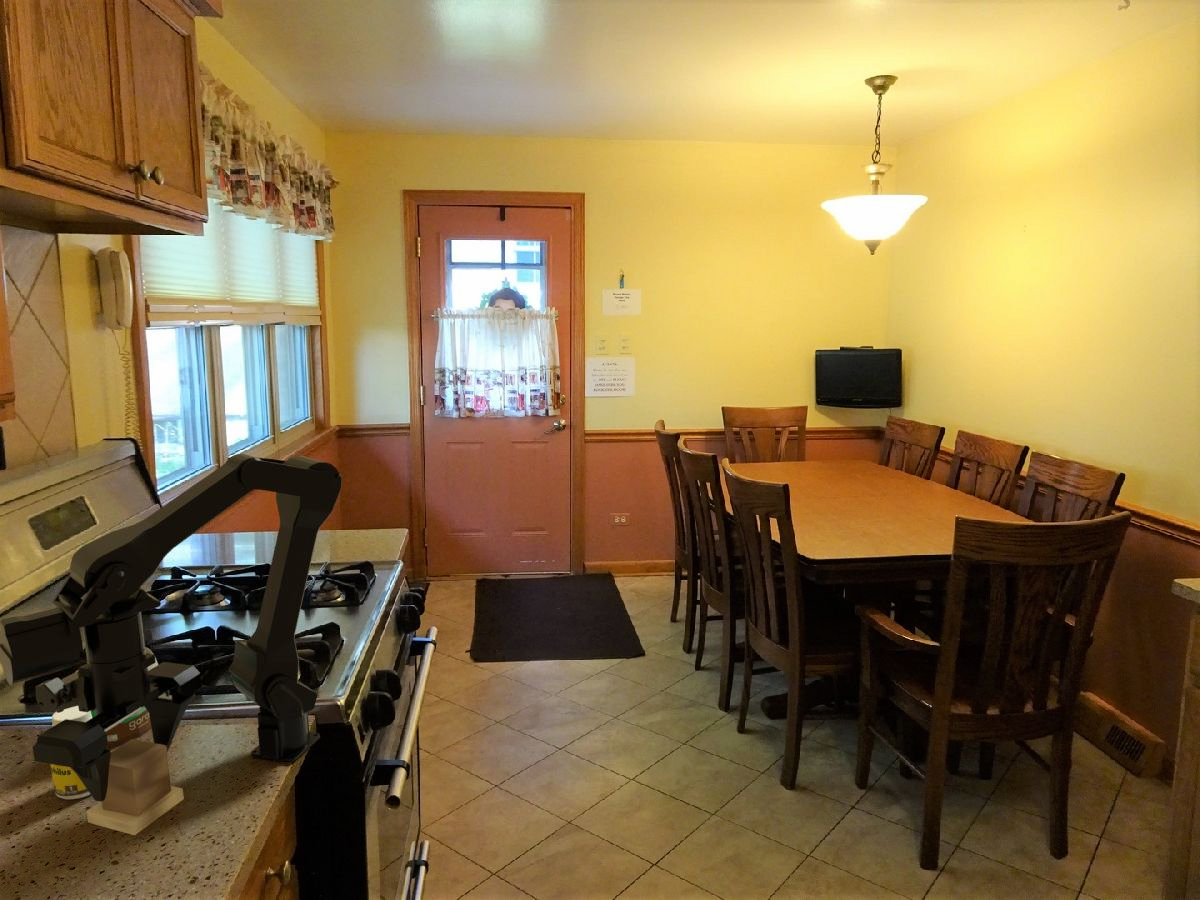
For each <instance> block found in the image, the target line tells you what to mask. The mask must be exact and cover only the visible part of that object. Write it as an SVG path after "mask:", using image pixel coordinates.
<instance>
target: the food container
mask: <svg viewBox="0 0 1200 900" xmlns="http://www.w3.org/2000/svg"><path fill="white" fill-rule="evenodd" d="M145 650H146V653H147V654H154V653H153V652H152V650H151V649H150V648H148V647H146V646H145ZM155 661H156V663H154V664H152V665H150V666H149V667H148V671H149V670H151V669H152V668H154V667H156V666H157V665H159V663H158V661H157V658H156V657H155ZM91 715H92V718H93V717H95V716H96V714H95V711H91ZM150 730H152V728H151V722H150V716H149V712H148V711H147V709H146V708H145V707H144V706H143V707H142V709H141V710H139V711H137V712H136V713H134V714H133V715H131V716H130V717H128V718H127V719H125V720H123V721H122V722H120V723H119V724H117V725H116V726H114V727H112V728H111V729H109V730H108V731H106V733H107V739H108V743H107V745H106V747H105V748H108V747H114V746H115V747H116V746H120V745H123V744H125V743H127V742H128V741H130V740H131V739H135V740H137V739H138V738H141V737H142V736H144V735H145V734H147V733H148V732H149V731H150Z"/></svg>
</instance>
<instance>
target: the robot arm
mask: <svg viewBox="0 0 1200 900" xmlns="http://www.w3.org/2000/svg"><path fill="white" fill-rule="evenodd" d="M342 487H343V477H342V475H341V474H340V472H339V470H338V469H337V467H336V466H334V465H333V464H332V463H329V462H326V461H323V460H319V459H317V458H316V459H315V458H312V457H308V456H305V455H295V456H293V457H290V458H289V459H287V460H283V459H282V460H281V459H275V458H269V457H257V456H253V455H249V454H245V453H236V454H235V455H231V457H229V458H228V459H227V460H226V461H225V463H223V464H222V465H220V466H219V467H218V468H217V469H215V470H214V471H213V472H211V473H209V474H208V475H206V476H205V477H203V478H202V479H200V480H199V481H198V482H196V483H194V485H192V486H191V487H189V488H188V489H186V490H184V491H183V492H182V493H180V494H179V495H178V496H176V497H175V498H173V499H172V500H170V501H169V502H167V503H166V504H164V505H163V506H161V507H159V508H158V509H157V510H156V511H154V512H153V513H151V514H150V515H149V516H147V517H145V518H144V519H142V520H140V521H139V522H136V523H135V524H134V523H133V524H132V525H129V526H126V527H122V528H119V529H116V530H112V531H111V532H109V533H106V534H105V535H102V536H100V537H98V538H97V539H94V540H92V541H89V542H88V543H85V544H84V545H82V546H81V547H80V548H79V549H78V550H77V551H76V552H75V553H74V554H73V555H72V556H71V561H70V565H69V575H68V576H67V578H65V581H64V582H63V584H62V586H60V588H59V590H58V592H57V593H56V595H55V596H54V598H53V599H52V601H51V603H52V604H51V605H52V606H53V607H55V608H52V609H48V610H42V611H39V612H34V613H31V614H30V613H29V614H25V615H15V616H10V617H6V618H2V619H1V620H0V664H1V668H2V671H3V674H4V677H5V679H6V681H7V684H9V685H10V686H12V685H15V684H19V683H24V682H26V681H30V680H34V679H36V678H40V677H43V676H47V675H50V674H53V673H56V672H60V671H64V670H68V669H70V668H73V667H74V665H75V664H77V663H79V662H80V660H81V659H80V657H81V656H82V655H83V653H84V647H85V653H86V654H85V655H86V661H87V663H85V664H83V665H81V666H79V667H78V670H77V671H76V672H74V673H72V674H69V675H68V676H66V677H64V678H62V679H60V678H59V677H55V678H52V679H48V680H45V681H44V682H42V683H39V684H38V685H36V686H35V700H36V703H37V706H38V707H39V710H40V711H41V712H43V713H48V712H51V711H52V712H53V711H55V712H57V713H60V712H63V711H64V709H68V708H71V707H75V706H78V708H79V711H81V712H89V711H95V714H96V716H95V717H93V718H91V719H90V720H88V721H87V722H81V721H74V720H68V719H65V720H64V721H62V722H60V723H58V724H57V725H55V726H52V727H50V728H49V729H47V730H45V731H43V732H42V733H40V734H38V735H37V736H36V737H35V738H34V739H33V741H32V752H33V759H34V762H38V763H44V764H48V765H50V764H54V765H60V766H66V767H70V768H71V769H72V770H73V771H74V772H75V773H76V774H77V776H78V777H79V778H80V780H81V781H82V783H83V784H84V786H85V787H86V788H87V790H88V791H89V793H90V796H91V797H92V799H93V801H96V802H99V803H100V802H102V801H104V800H105V798H106V793H107V788H108V776H109V765H110V754H111V752H112V751H111V750H110V749H106V748H107V747H106V745H107V743H108V739H107V733H106V731H108V730H109V729H111V728H112V727H114V726H116V725H117V724H119V723H120V722H122V721H123V720H125V719H127V718H128V717H130V716H131V715H133V714H134V713H136V712H137V711H139V710H141V709H142V707H143V706H144V707H145V708H146V709H147V711H148V712H149V716H150V722H151V734H152V739H153V743H156V744H161V745H166V747H167V753H168V752H169V750H170V747H171V745H172V742H173V740H174V737H175V735H176V733H177V731H178V728H179V726H180V723H181V721H182V719H183V717H184V715H185V713H186V710H187V708H188V707H189V705H190V702H191V701H192V700H193V699H195V696H196V695H195V692H196V691H197V690H199V689H201V688H202V678H201V677H202V676H201V672H200V671H199V670H198V669H197V668H196V667H195V666H194V665H192V664H184V663H176V662H175V663H174V662H168V661H166V662H165V661H162V662H161V663H158V665H157V666H156V667H154V668H152V669H151V670H149V671H148V667H149V666H150V665H152V664H154V663H156V661H155V658H156V655H155V654H154V653H153V654H147V653H146V650H145V647H146V643H145V635H144V627H143V619H142V612H145V611H150V610H152V609H158V608H159V607H160V606H161V604H162V603H161V601H160V600H159V599H157V598H156V597H155V596H153V595H152V594H150V593H148V592H146V591H145V589H143V588H142V586H143V585H144V584H145V583H146V582H147V581H148V580H149V579H150V578H151V577H152V576H153V575H154V574H155V573H156V572H157V570H158V569H159V567H160V565H161V564H162V562H163V561H164V559H165V557H166V556H168V555H169V553H170V552H171V551H173V550H174V549H175V548H176V547H177V546H179V545H180V544H181V543H183V542H185V540H187V539H189V538H190V537H191V536H193V534H195V533H197V531H199V530H200V529H202V528H203V527H205V526H206V525H207V524H209V523H210V522H212V521H213V520H215V518H217V517H218V516H220V515H221V514H223V513H224V512H226V511H227V510H228V509H229V508H231V507H232V506H234V505H235V504H236V503H237V502H239V501H241V500H242V499H243V498H244V497H246V496H247V495H248V494H250V493H251V492H253V491H255V490H258V491H266V492H270V493H271V492H272V493H275V499H276V506H277V511H278V516H279V528H278V532H277V537H276V542H275V546H274V550H273V555H272V558H271V563H270V568H269V572H268V576H267V577H268V578H267V581H266V586H265V590H264V594H263V599H262V603H261V606H260V613H259V616H258V621H257V625H256V628H255V630H254V632H253V633H252V634H251V636H250V637H249V639H247V641H241V640H237V641H236V642H235V644H234V653H233V654H234V656H233V660H232V662H231V664H230V666H229V668H228V672H230V673H231V675H232V679H231V680H232V684H234V687H235V688H236V689H237V690H238V691H239V692H240V693H241V694H243V695H244V696H245V697H246V698H248V699H249V700H251V701H252V702H253V703H254V704H255V705H257V706H258V708H259V709H258V711H259V712H257V714H256V716H257V726H258V727H257V738H258V744H257V746H255V747H254V749H252V750H251V751H250V756H251V757H253V758H260V759H268V760H272V761H280V762H286V763H293V762H296V760H297V759H299V758H300V757H301V756H302V755H304V753H305V752H306V751H308V749H310V747H312V746H313V745H314V744H315V743H316V742H317V741H318V740H320V738H321V736H320V733H318V732H311V730H310V720H309V712H310V711H312V710H314V709H315V705H316V702H317V699H318V698H317V697H318V693H317V692H316V691H314V690H313V689H311V688H310V687H309V686H307V685H305V684H304V683H302V682H301V681H299V669H300V668H299V667H300V659H299V655H298V650H297V643H296V638H295V637H296V630H297V626H298V622H299V618H300V615H301V614H300V613H301V608H302V604H303V600H304V595H305V590H306V587H307V582H308V577H309V572H310V568H311V564H312V560H313V554H314V550H315V546H316V542H317V538H318V537H317V536H318V533H319V530H320V528H321V527H322V526H323V524H324V523H325V522H326V521H327V520H328V518H329V517H330V516H331V514H332V513H333V512H334V509H335V507H336V504H337V501H338V499H339V497H340V494H341V492H342ZM83 597H84V598H83ZM81 628H82V633H83V638H84V639H82V633H81ZM83 640H84V642H83ZM83 643H84V645H83ZM83 646H84V647H83Z"/></svg>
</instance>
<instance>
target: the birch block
mask: <svg viewBox="0 0 1200 900" xmlns="http://www.w3.org/2000/svg"><path fill="white" fill-rule="evenodd" d="M184 797H185V796H184V789H183V787H179V786H174V785H171V792H169V793H168V794H167V795H165V796H164V797H163V798H162V799H160V800H159V801H158V802H156V803H155V804H154V805H152V806H151V807H150V808H149V809H147V810H146V811H145V812H143V813H142V814H141V815H139V816H138V817H137V816H133V815H128V814H124V813H119V812H115V811H110V810H106V809H103V808H102V802H100V801H99V802H98V803H97V804H96V805H94V806H93V807H91V808H89V809H88V810H86V817H87V822H88V824H93V825H97V826H99V827H102V828H106V829H110V830H113V831H118V832H121V833H125V834H128V835H132V836H136V835H137V834H138V833H140V832H141V831H143V830H144V829H145V828H146V827H148V826H149V825H151V824H152V823H153V822H154V821H156V820H158V819H159V818H160V817H162V816H163V815H164V814H166V813H167V812H168V811H170V810H171V809H173V808H174V807H175V806H177V805H178V804H179V803H181V802H182V801H183V800H185V798H184Z"/></svg>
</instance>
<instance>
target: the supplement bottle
mask: <svg viewBox="0 0 1200 900" xmlns="http://www.w3.org/2000/svg"><path fill="white" fill-rule="evenodd" d="M91 718H92V715H91V711H89V712H81V711H79V708H78V706H75V707H71V708H68V709H64V711H63V712H60V713H57V712H56V711H55V712H54V713H53V714H52V716H51V721H52V722H51V724H52V727H53V726H55V725H57V724H58V723H60V722H62V721H64V720H65V719H68V720H74V721H81V722H87V721H88V720H90V719H91ZM49 765H50V770H51V771H50V772H51V779H52V785H53V791H54V794H55V795H56V796H57V797H58V798H60V799H63V800H76V799H82V798H85V797H88V796H91V794H90V793H89V791H88V790H87V788H86V787H85V786H84V784H83V783H82V781H81V780H80V778H79V777H78V776H77V774H76V773H75V772H74V771H73V770H72V769H71V768H70V767H66V766H60V765H54V764H49Z"/></svg>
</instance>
